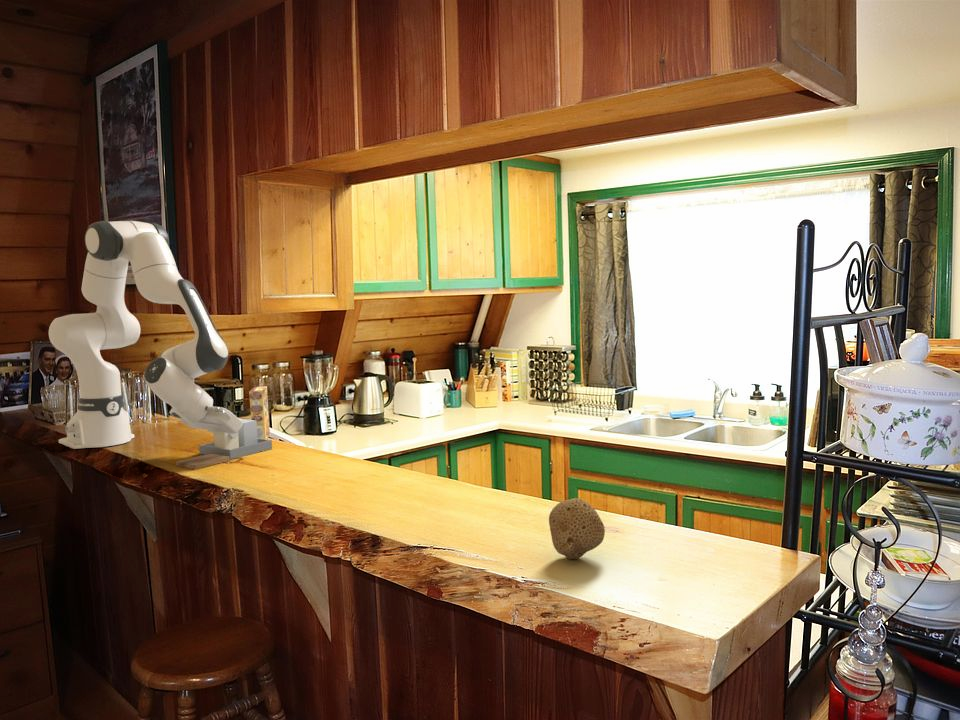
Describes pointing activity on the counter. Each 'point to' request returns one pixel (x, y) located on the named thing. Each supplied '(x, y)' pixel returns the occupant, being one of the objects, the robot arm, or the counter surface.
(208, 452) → the grey square frame
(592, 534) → the natural sponge
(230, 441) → the cream carton
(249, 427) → the tall white block
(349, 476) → the counter surface
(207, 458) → the walnut board
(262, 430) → the candy box
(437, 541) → the counter surface
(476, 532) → the counter surface
